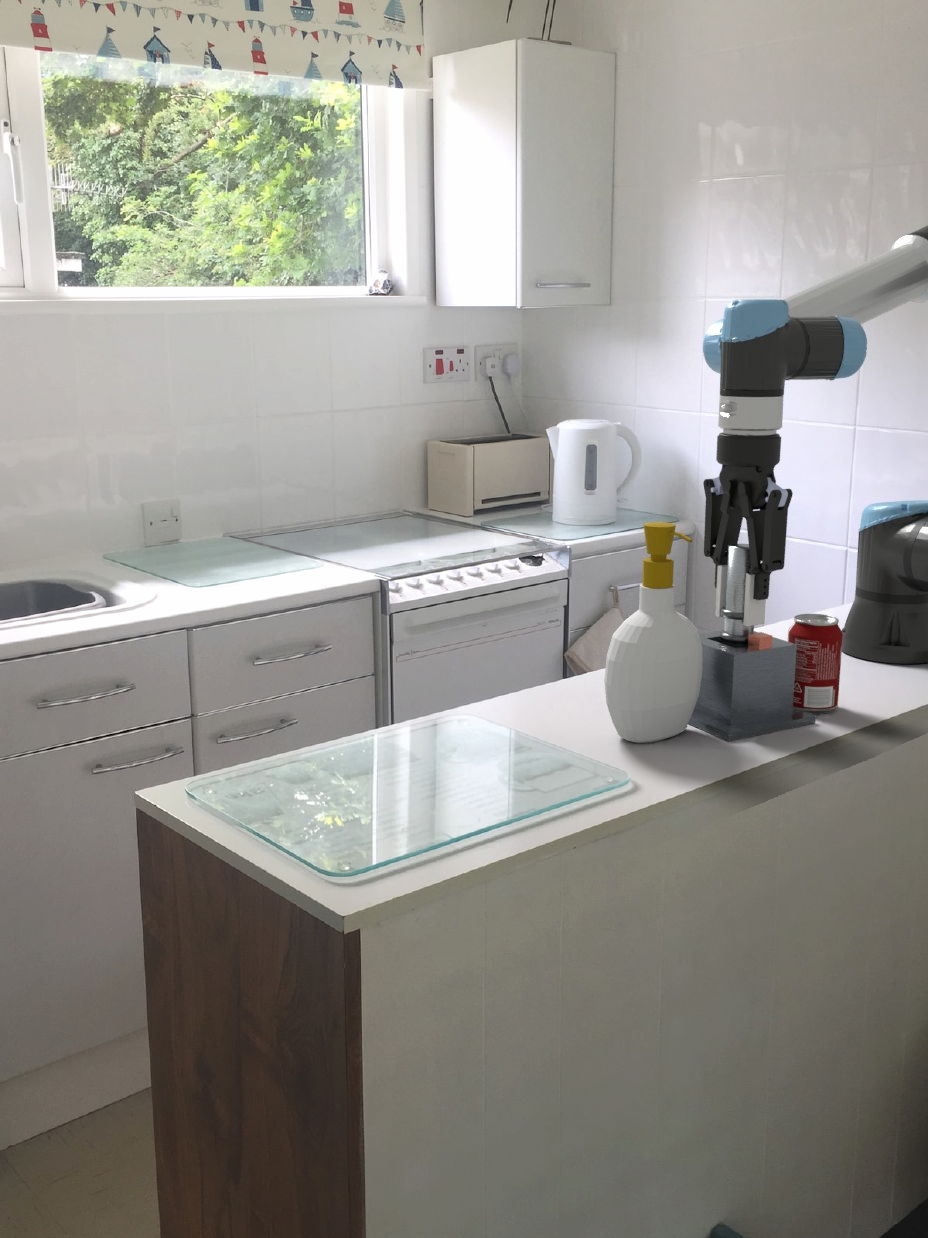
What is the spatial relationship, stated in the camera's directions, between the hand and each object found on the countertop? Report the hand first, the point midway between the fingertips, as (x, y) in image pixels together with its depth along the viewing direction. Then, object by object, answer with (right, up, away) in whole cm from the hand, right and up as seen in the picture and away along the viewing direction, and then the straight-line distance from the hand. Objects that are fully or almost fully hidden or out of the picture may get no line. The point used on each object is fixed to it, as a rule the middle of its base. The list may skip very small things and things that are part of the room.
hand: (739, 619), depth 151 cm
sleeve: (0, -12, +3) cm, 13 cm away
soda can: (+11, -12, +6) cm, 17 cm away
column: (0, -11, +3) cm, 11 cm away
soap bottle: (-11, -14, -4) cm, 19 cm away
